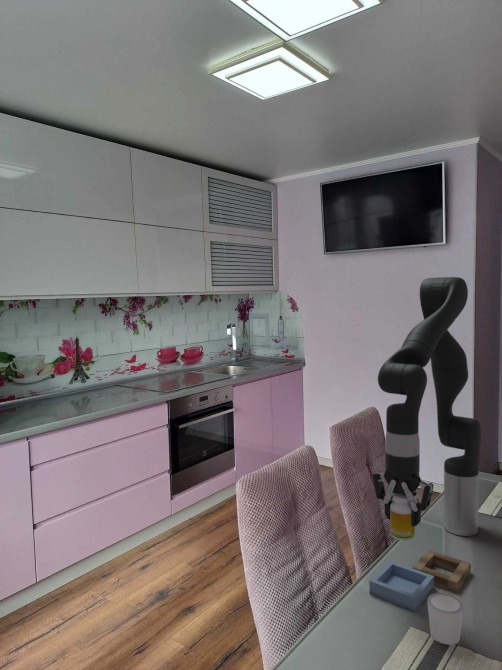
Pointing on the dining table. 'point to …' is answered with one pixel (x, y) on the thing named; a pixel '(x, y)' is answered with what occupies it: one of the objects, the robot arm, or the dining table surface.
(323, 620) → the dining table surface
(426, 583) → the tray
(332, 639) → the dining table surface
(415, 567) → the collar
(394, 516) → the supplement bottle
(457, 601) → the shot glass
